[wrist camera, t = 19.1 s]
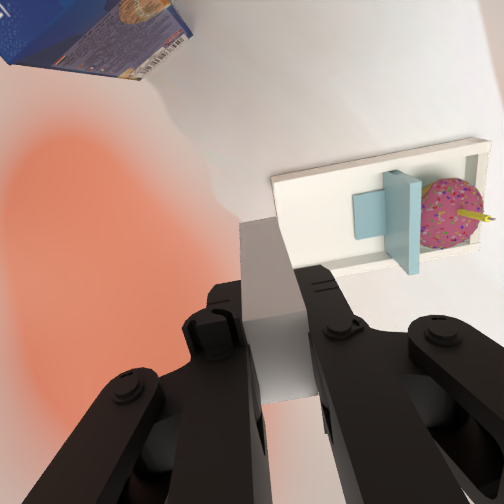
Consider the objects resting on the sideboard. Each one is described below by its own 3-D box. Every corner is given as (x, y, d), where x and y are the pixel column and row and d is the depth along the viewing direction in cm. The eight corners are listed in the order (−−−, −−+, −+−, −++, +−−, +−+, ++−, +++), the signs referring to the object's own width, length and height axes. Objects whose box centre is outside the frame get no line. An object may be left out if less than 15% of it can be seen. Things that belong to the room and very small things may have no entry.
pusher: (351, 175, 42) (372, 190, 35) (392, 167, 42) (421, 181, 35) (355, 255, 47) (375, 281, 40) (393, 248, 46) (419, 273, 40)
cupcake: (400, 168, 42) (458, 195, 31) (466, 170, 42) (546, 197, 32) (386, 234, 46) (433, 278, 35) (447, 235, 46) (513, 278, 35)
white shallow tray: (270, 176, 42) (273, 182, 40) (473, 137, 42) (491, 140, 39) (286, 274, 48) (289, 285, 45) (464, 241, 47) (479, 251, 45)
